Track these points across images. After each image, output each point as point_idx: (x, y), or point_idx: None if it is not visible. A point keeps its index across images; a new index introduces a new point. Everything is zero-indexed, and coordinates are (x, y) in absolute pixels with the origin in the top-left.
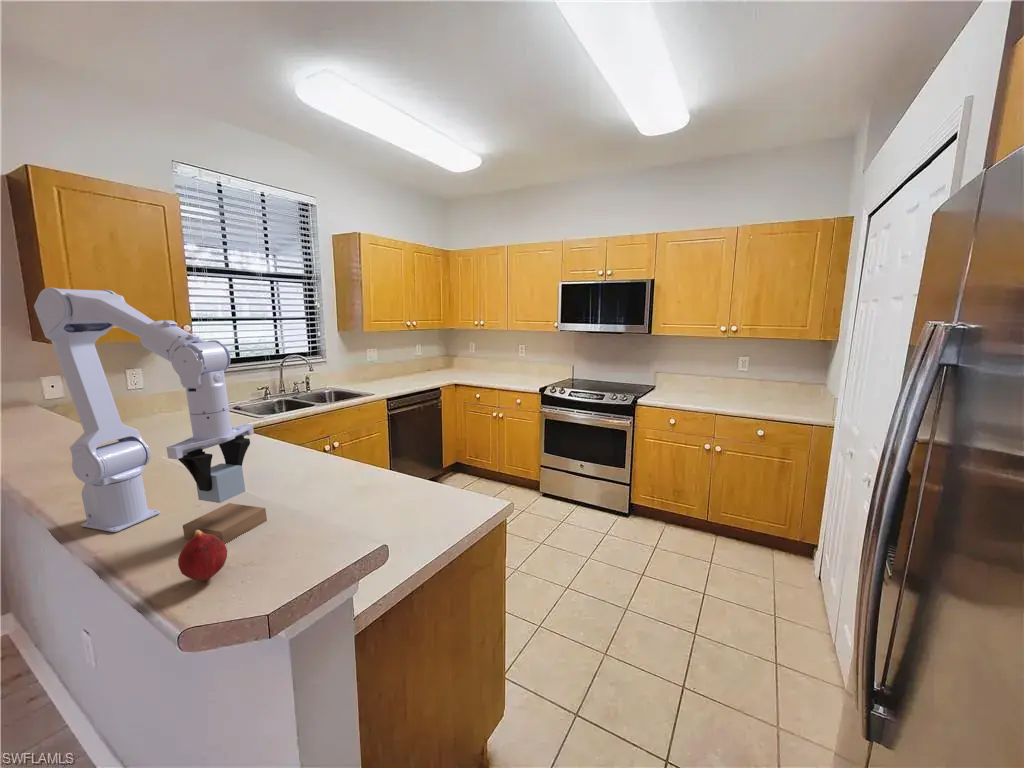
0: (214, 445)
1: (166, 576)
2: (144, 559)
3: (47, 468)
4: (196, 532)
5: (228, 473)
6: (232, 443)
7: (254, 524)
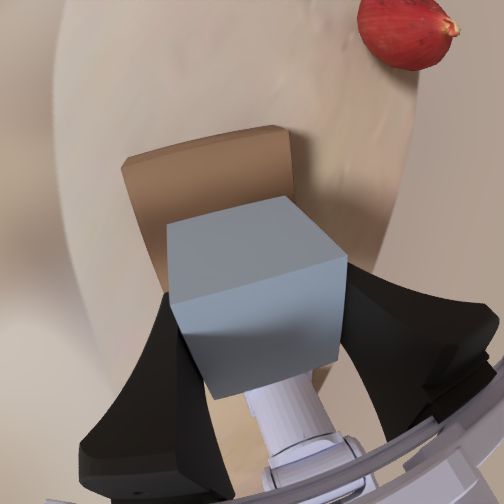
0: (346, 464)
1: (385, 121)
2: (359, 226)
3: (235, 491)
4: (459, 27)
5: (268, 269)
6: (207, 480)
7: (171, 147)
